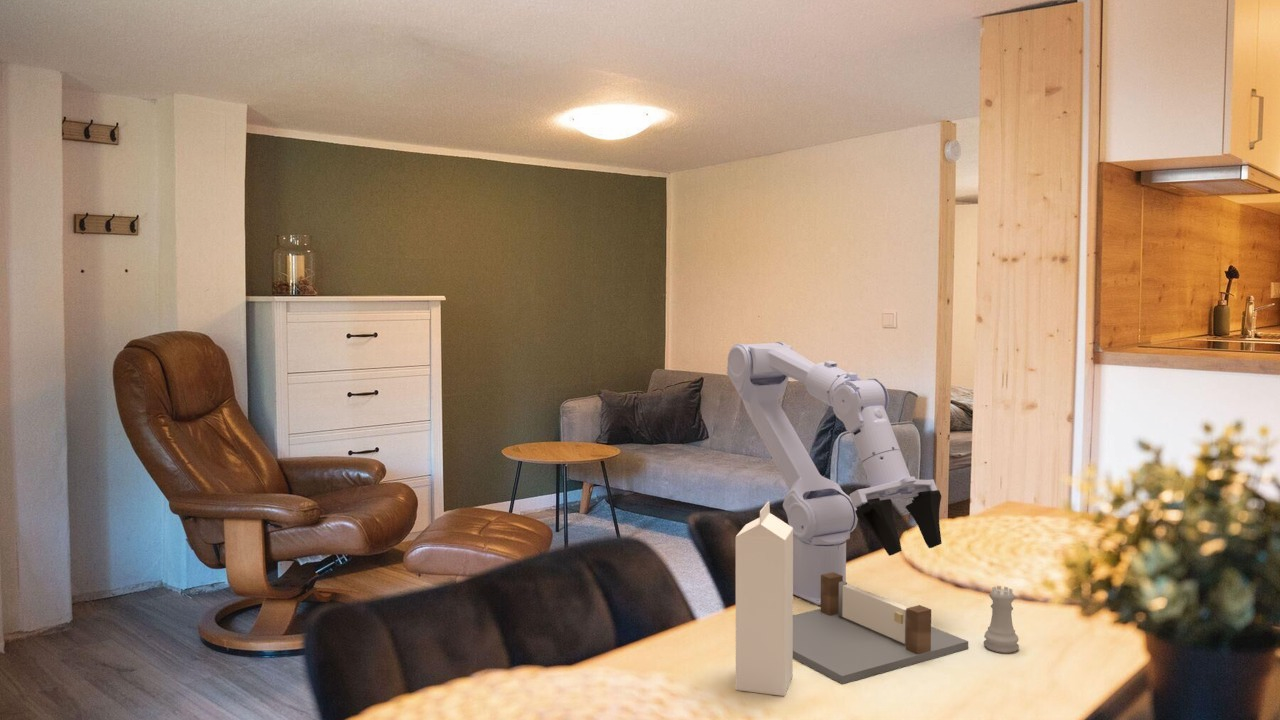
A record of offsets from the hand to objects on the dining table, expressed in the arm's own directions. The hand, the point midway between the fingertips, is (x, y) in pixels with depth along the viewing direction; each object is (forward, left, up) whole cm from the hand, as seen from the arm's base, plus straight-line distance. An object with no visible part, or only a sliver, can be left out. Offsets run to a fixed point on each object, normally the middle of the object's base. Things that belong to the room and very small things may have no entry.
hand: (915, 549), depth 131 cm
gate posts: (-2, -6, -11) cm, 13 cm away
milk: (+2, -28, -12) cm, 30 cm away
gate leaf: (-2, -6, -11) cm, 12 cm away
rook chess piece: (+9, +6, -12) cm, 17 cm away
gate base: (-3, -9, -12) cm, 15 cm away
